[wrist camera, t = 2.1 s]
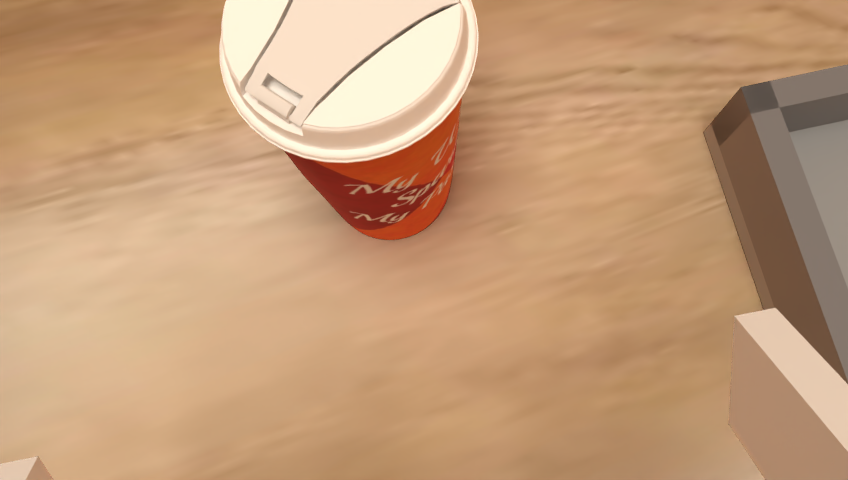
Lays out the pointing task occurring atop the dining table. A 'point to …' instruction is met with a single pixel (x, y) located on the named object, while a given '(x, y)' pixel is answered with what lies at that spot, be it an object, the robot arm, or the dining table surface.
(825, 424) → the robot arm
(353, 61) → the paper cup
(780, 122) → the cup holder
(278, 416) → the dining table surface
